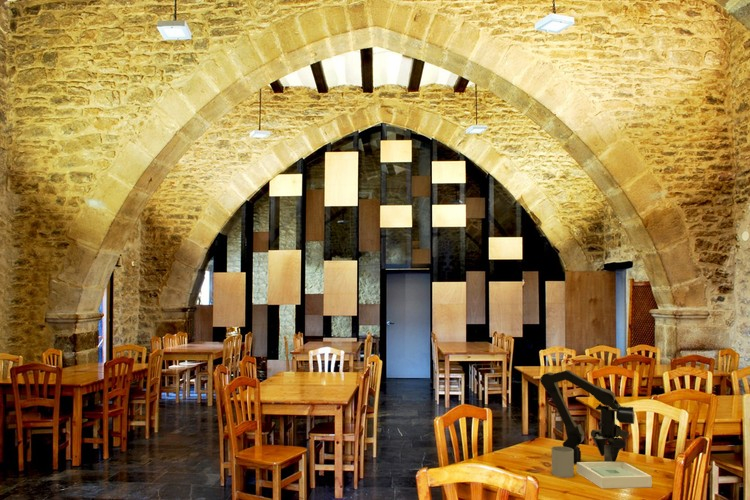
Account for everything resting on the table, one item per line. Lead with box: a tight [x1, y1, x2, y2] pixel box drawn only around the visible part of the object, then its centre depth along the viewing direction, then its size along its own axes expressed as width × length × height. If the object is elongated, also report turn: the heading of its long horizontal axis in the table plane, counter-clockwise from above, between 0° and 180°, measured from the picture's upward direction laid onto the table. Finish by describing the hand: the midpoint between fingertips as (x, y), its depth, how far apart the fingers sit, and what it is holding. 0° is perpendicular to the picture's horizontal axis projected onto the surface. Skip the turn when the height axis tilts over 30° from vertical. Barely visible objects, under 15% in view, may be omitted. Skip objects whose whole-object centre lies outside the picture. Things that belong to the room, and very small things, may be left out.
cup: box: [551, 445, 575, 479], centre depth 239 cm, size 8×8×10 cm
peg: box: [603, 443, 612, 462], centre depth 250 cm, size 3×3×9 cm
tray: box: [576, 460, 653, 489], centre depth 233 cm, size 20×20×4 cm
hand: (608, 458), depth 250 cm, fingers open, 9 cm apart
